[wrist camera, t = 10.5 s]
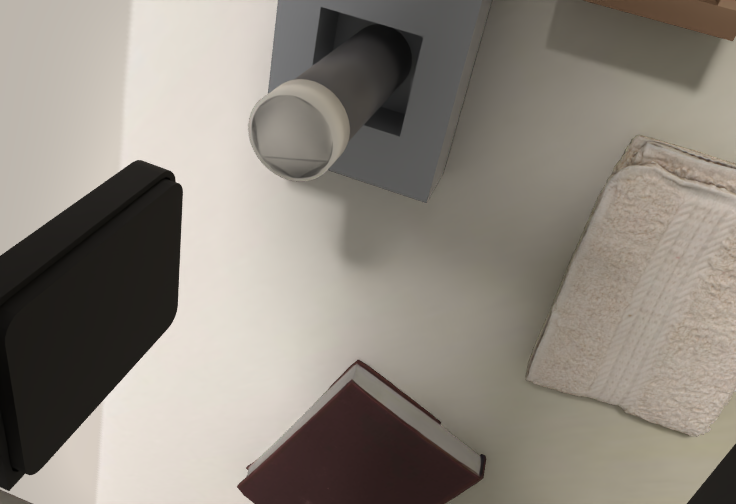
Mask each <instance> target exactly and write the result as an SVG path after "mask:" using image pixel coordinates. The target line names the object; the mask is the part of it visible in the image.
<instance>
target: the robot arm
mask: <svg viewBox="0 0 736 504" xmlns="http://www.w3.org/2000/svg"><path fill="white" fill-rule="evenodd" d="M182 198H183V190H182V186H181V185H180V184H179V183H176V182H175V176H174V174H173V173H172V172H171V171H169V170H166V169H163V168H161V167H158V166H155V165H152V164H150V163H147V162H144V161H141V160H137V161H135V162H133V163H131V164H130V165H128V166H127V167H125V168H124V169H123V170H121V171H120V172H118V173H117V174H116V175H114V176H113V177H111V178H110V179H108V180H107V181H106V182H104V183H103V184H101V185H100V186H98V187H97V188H96V189H94V190H93V191H91V192H90V193H89V194H87V195H86V196H84V197H83V198H81V199H80V200H79V201H77V202H76V203H74V204H73V205H72V206H70V207H69V208H67V209H66V210H64V211H63V212H62V213H60V214H59V215H58V216H56V217H55V218H53V219H52V220H50V221H49V222H47V223H46V224H45V225H43V226H42V227H41V228H39V229H38V230H36V231H35V232H34V233H32V234H31V235H29V236H28V237H27V238H25V239H24V240H22V241H21V242H19V243H18V244H16V245H15V246H13V247H12V248H11V249H9V250H8V251H6V252H5V253H4V254H2V255H1V256H0V487H1V488H4V489H6V490H8V491H10V489H11V488H12V487H13V486H14V485H15V484H16V483H17V482H18V481H19V480H20V478H21V477H22V476H23V475H24V474H25V473H26V474H28V475H33V474H35V473H37V472H38V471H39V470H40V469H41V468H42V467H43V466H44V465H45V464H46V463H47V462H48V461H49V460H50V458H51V457H52V456H53V455H54V454H55V453H56V452H57V451H58V450H59V448H60V447H61V446H62V445H63V444H64V443H65V442H66V441H67V439H69V438H70V436H71V435H72V434H73V433H74V432H75V431H76V430H77V429H78V428H79V426H80V425H81V424H82V423H83V422H84V421H85V420H86V419H87V418H88V416H89V415H90V414H91V413H92V412H93V411H94V410H95V409H96V408H97V406H98V405H99V404H100V403H101V402H102V401H103V400H104V399H105V398H106V396H107V395H108V394H109V393H110V392H111V391H112V390H113V389H114V388H115V387H116V385H117V384H118V383H119V382H120V381H121V380H122V379H123V378H124V377H125V375H126V374H127V373H128V372H129V371H130V370H131V369H132V368H133V367H134V365H135V364H136V363H137V362H138V361H139V360H140V359H141V358H142V357H143V355H144V354H145V353H146V352H147V351H148V350H149V349H150V348H151V347H152V346H153V344H154V343H155V342H156V341H157V340H158V339H159V338H160V337H161V336H162V334H163V333H164V332H165V331H166V330H167V329H168V328H169V326H170V325H171V323H172V322H173V320H174V318H175V315H176V312H177V307H178V287H179V264H180V242H181V220H182ZM0 504H32V503H30V502H27V501H25V500H23V499H21V498H18V497H16V496H14V495H11V494H9V493H7V492H4V491H2V490H0ZM687 504H736V444H735V445H734V446H733V448H732V449H731V450H730V451H729V453H728V454H727V455H726V456H725V457H724V459H723V460H722V461H721V462H720V464H719V465H718V466H717V467H716V469H715V470H714V471H713V472H712V473H711V475H710V476H709V477H708V478H707V480H706V481H705V482H704V483H703V484H702V486H701V487H700V488H699V489H698V491H697V492H696V493H695V494H694V496H693V497H692V498H691V499H690V500H689V502H688V503H687Z"/></svg>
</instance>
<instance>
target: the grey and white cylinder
mask: <svg viewBox="0 0 736 504" xmlns="http://www.w3.org/2000/svg"><path fill="white" fill-rule="evenodd" d="M411 65H412V54H411V50H410V47H409V45H408V43H407V41H406V39H405V38H404V37H403V36H402V34H401V33H399V32H398V31H397V30H395V29H394V28H392V27H388V26H385V25H381V24H374V25H370V26H367V27H365V28H363V29H362V30H360V31H359V32H358V33H356V34H355V35H354V36H352V37H351V38H349V39H348V40H347V41H345V42H344V43H343V44H341V45H340V46H339V47H337V48H336V49H335V50H333V51H332V52H331V53H329V54H328V55H326V56H325V57H324V58H322V59H321V60H320V61H318V62H317V63H316V64H314V65H313V66H312V67H310V68H309V69H308V70H306V71H305V72H303V73H302V74H301V75H299V76H298V77H297V78H295V79H294V80H290V81H287V82H285V83H283V84H281V85H280V86H278V87H277V88H275V89H274V90H273V91H271V92H270V93H269V94H267V95H266V96H264V97H263V98H262V99H260V100H259V101H258V102H257V104H256V105H255V106H254V108H253V110H252V112H251V114H250V118H249V123H248V132H249V138H250V142H251V145H252V148H253V150H254V152H255V153H256V155H257V157H258V158H259V159H260V161H261V162H262V163H263V164H264V165H265V166H266V167H267V168H268V169H269V170H270V171H272V172H273V173H275V174H276V175H278V176H280V177H282V178H285V179H287V180H291V181H298V182H303V181H310V180H313V179H316V178H318V177H320V176H321V175H323V174H324V173H325V172H326V171H327V170H328V169H329V168H330V167H331V166H332V164H333V163H334V162H335V161H336V160H337V159H338V158H339V157H340V155H341V154H342V153H343V152H344V150H345V148H346V146H347V144H348V142H349V141H350V139H351V138H352V137H353V136H354V135H355V134H356V133H357V132H358V131H359V130H360V129H361V127H362V126H363V125H364V124H365V123H366V122H367V121H368V120H369V119H370V118H371V116H372V115H373V114H374V113H375V112H376V111H377V110H378V109H379V108H380V107H381V106H382V104H383V103H384V102H385V101H386V100H387V99H388V98H389V97H390V96H391V95H392V94H393V92H394V91H395V90H396V89H397V88H398V87H399V86H400V85H401V84H402V83H403V82H404V80H405V79H406V78H407V76H408V74H409V72H410V69H411Z"/></svg>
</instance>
